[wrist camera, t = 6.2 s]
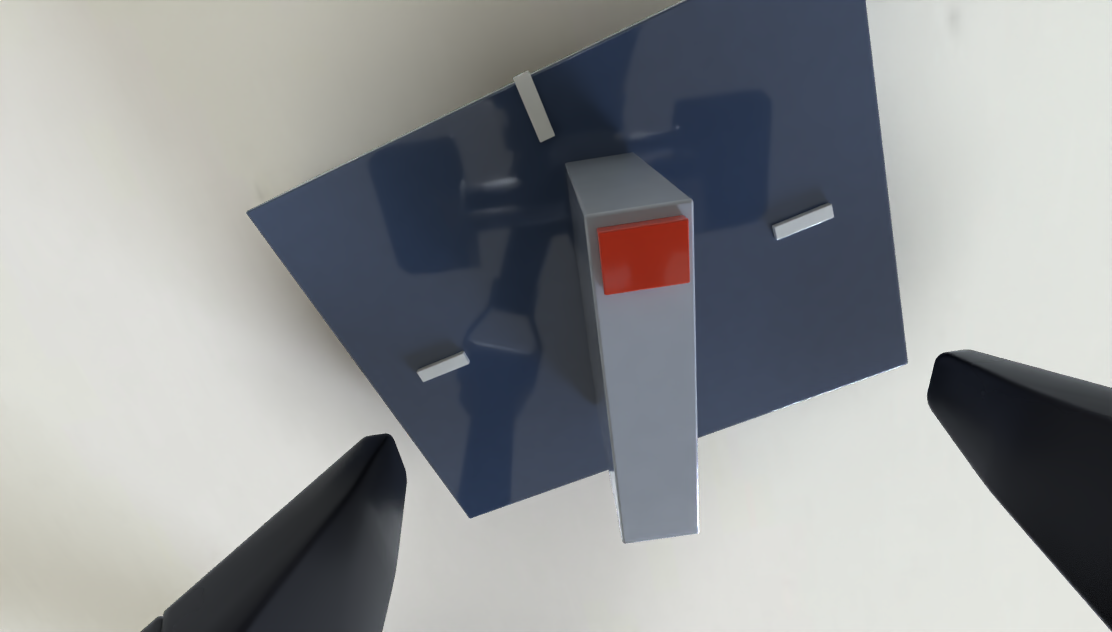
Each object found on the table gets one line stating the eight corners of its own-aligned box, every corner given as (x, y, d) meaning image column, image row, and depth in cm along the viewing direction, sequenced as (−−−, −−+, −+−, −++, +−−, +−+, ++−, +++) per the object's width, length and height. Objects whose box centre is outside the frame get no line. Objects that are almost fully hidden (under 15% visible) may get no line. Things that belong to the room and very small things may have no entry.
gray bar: (652, 402, 14) (703, 544, 10) (596, 410, 14) (625, 555, 10) (634, 151, 11) (699, 202, 7) (564, 162, 11) (585, 220, 7)
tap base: (479, 456, 19) (470, 525, 16) (296, 181, 14) (237, 210, 11) (848, 319, 17) (913, 370, 14) (783, -54, 12) (861, -91, 9)
